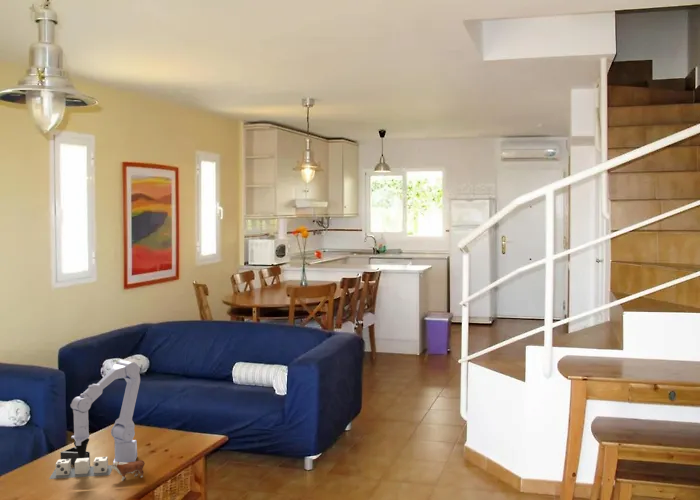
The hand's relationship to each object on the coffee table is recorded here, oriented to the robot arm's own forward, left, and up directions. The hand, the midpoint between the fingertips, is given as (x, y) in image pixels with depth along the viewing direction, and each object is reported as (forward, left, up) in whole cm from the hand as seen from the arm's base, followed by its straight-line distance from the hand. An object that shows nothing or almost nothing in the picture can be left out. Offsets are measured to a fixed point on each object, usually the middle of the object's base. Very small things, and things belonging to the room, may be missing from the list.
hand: (82, 457), depth 305 cm
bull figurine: (-20, +11, -7) cm, 24 cm away
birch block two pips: (-7, 0, -6) cm, 10 cm away
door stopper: (+9, -15, -4) cm, 18 cm away
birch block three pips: (+8, 0, -6) cm, 10 cm away
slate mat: (0, 0, -7) cm, 7 cm away
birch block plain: (0, 0, -6) cm, 6 cm away
